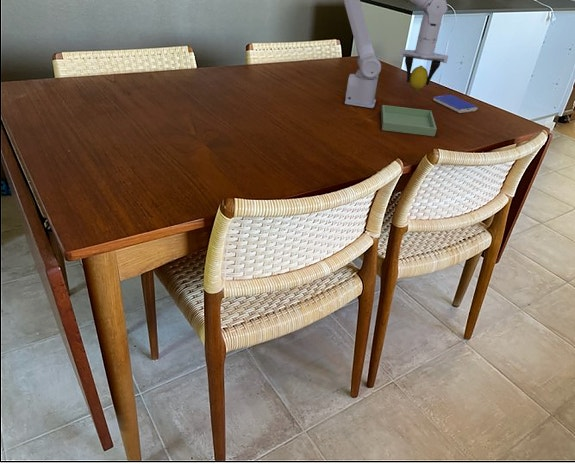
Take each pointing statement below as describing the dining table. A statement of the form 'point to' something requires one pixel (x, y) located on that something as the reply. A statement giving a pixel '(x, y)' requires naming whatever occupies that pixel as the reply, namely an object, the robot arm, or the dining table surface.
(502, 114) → the dining table surface
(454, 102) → the hard drive
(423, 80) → the lemon
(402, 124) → the tray
